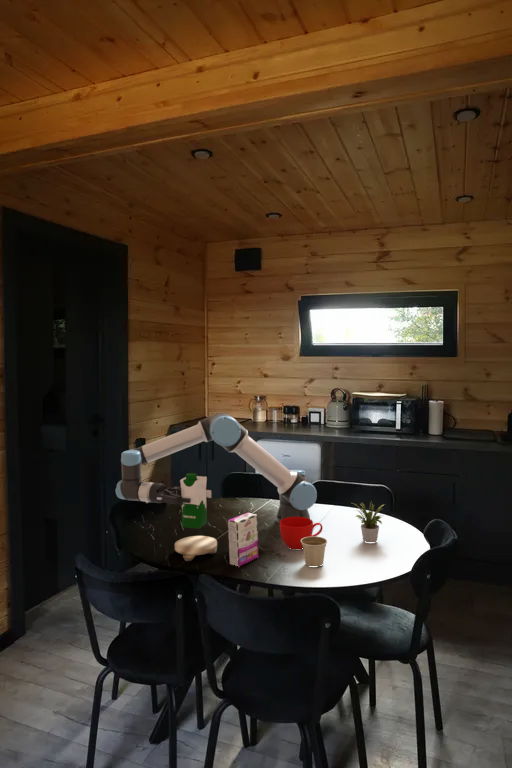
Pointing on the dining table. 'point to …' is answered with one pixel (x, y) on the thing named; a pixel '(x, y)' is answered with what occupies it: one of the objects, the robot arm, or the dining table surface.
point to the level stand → (195, 546)
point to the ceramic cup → (296, 530)
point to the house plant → (369, 523)
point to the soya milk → (190, 512)
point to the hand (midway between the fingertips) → (205, 497)
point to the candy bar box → (243, 539)
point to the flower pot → (314, 550)
